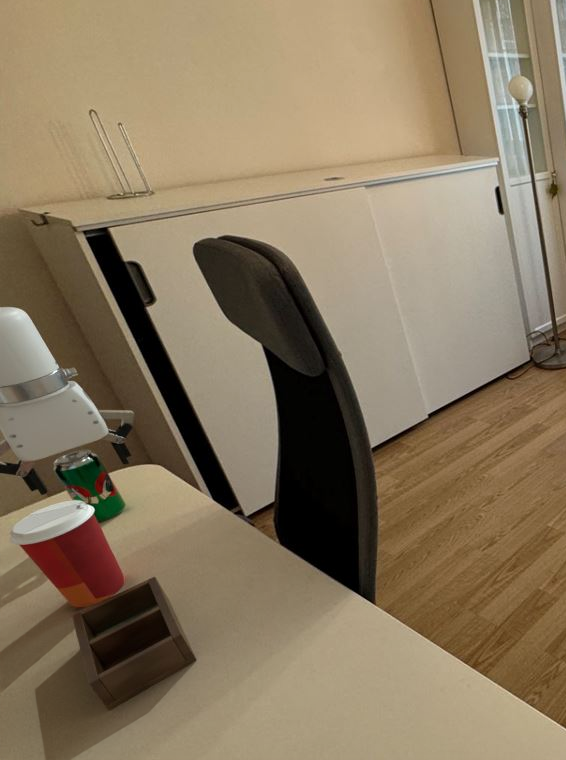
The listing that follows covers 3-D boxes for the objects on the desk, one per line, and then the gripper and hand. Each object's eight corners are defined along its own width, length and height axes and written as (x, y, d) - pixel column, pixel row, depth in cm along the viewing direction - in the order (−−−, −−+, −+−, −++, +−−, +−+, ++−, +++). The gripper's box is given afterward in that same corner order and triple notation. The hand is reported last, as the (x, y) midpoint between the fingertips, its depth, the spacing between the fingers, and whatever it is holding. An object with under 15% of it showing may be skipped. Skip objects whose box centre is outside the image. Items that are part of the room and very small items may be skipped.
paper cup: (135, 563, 86) (91, 490, 80) (135, 591, 80) (88, 515, 75) (61, 592, 81) (8, 517, 75) (56, 624, 76) (-1, 546, 70)
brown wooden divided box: (108, 711, 65) (88, 684, 63) (89, 641, 73) (71, 615, 71) (197, 660, 70) (181, 634, 68) (169, 601, 79) (154, 576, 77)
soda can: (123, 500, 99) (91, 444, 94) (130, 511, 97) (97, 454, 92) (83, 516, 96) (47, 459, 91) (89, 528, 93) (52, 470, 88)
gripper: (104, 360, 94) (150, 444, 101) (-61, 403, 82) (5, 495, 89) (112, 371, 90) (159, 458, 97) (-60, 418, 77) (9, 513, 85)
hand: (86, 475), depth 93 cm, fingers open, 9 cm apart
